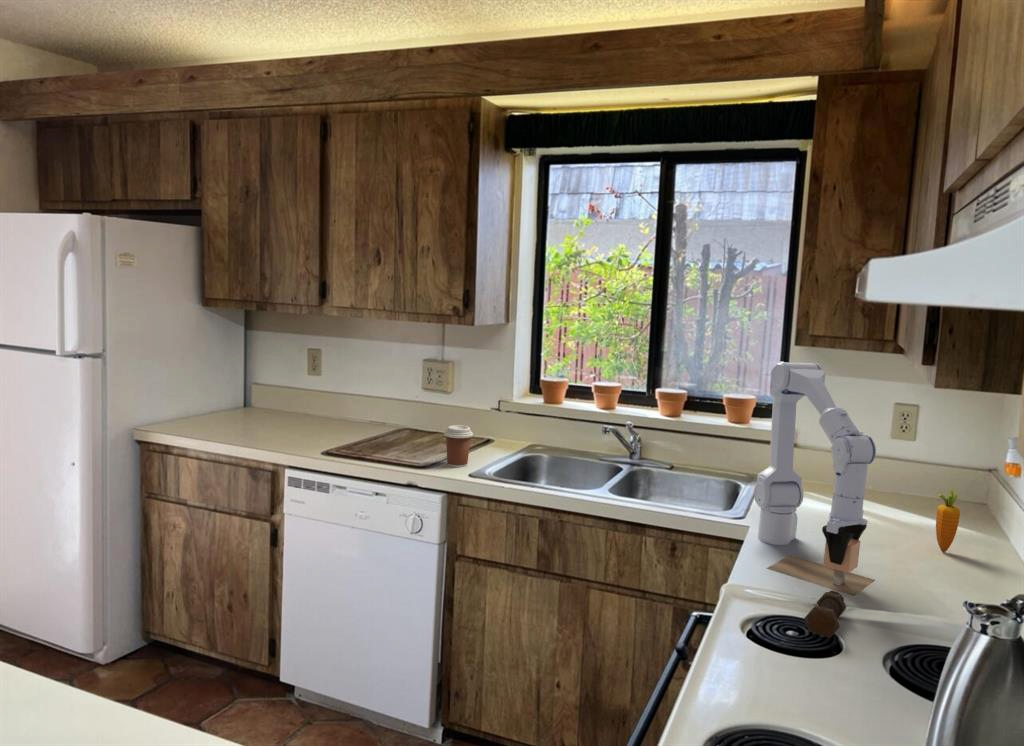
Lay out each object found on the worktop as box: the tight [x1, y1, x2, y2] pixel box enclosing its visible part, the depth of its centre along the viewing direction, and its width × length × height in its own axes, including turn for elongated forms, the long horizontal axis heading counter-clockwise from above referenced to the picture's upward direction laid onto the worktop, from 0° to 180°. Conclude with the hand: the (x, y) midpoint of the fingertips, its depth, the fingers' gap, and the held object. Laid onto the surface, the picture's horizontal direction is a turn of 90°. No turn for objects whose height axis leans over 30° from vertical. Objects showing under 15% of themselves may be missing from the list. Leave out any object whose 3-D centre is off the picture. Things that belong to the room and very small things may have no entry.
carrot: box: [935, 489, 961, 553], centre depth 181 cm, size 5×5×15 cm
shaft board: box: [766, 554, 875, 597], centre depth 160 cm, size 12×18×5 cm, turn 47°
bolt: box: [803, 590, 847, 639], centre depth 141 cm, size 6×5×15 cm
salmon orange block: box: [822, 539, 861, 573], centre depth 154 cm, size 5×5×6 cm
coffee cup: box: [443, 424, 474, 468], centre depth 239 cm, size 9×9×12 cm
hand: (841, 559), depth 155 cm, fingers closed on salmon orange block, 5 cm apart
